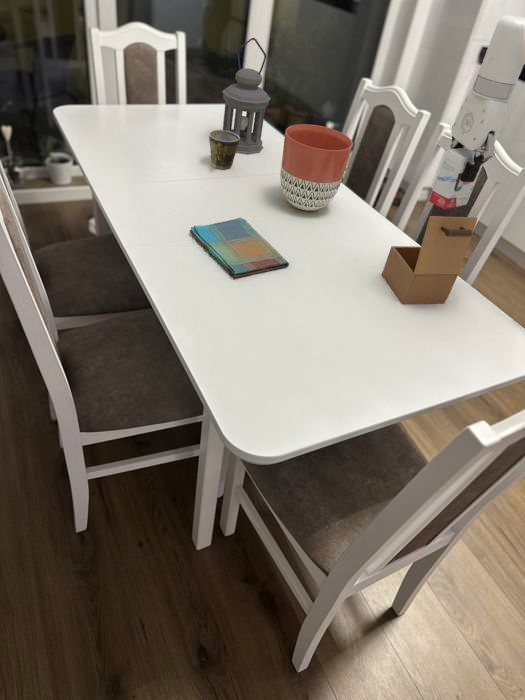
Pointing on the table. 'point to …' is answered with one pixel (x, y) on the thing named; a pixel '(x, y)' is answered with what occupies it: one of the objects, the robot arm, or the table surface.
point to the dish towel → (238, 247)
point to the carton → (415, 278)
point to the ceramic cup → (223, 148)
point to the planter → (313, 165)
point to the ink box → (453, 180)
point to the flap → (445, 245)
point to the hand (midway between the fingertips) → (459, 173)
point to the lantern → (246, 107)
